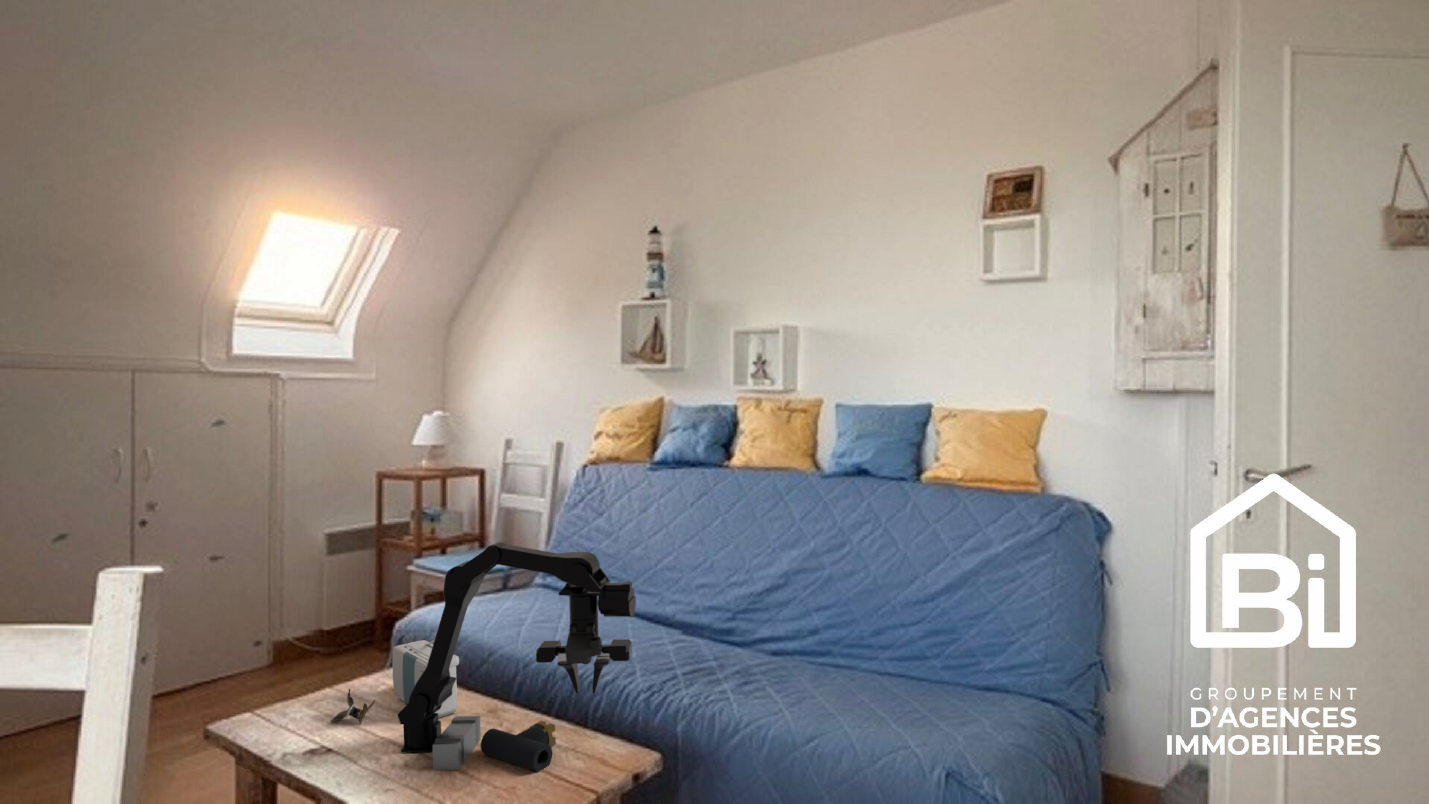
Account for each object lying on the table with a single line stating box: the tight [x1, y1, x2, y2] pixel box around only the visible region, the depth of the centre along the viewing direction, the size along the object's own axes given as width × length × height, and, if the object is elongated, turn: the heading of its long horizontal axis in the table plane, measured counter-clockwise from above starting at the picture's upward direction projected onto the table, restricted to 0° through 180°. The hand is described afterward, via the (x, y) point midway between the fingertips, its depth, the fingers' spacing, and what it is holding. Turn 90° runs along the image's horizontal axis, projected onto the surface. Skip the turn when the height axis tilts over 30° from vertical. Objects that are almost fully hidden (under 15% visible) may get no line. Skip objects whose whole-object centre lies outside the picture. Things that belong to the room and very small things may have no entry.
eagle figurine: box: [330, 688, 376, 725], centre depth 182 cm, size 8×7×9 cm
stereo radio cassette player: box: [391, 638, 460, 719], centre depth 190 cm, size 21×8×20 cm, turn 43°
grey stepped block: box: [432, 715, 482, 771], centre depth 164 cm, size 5×14×5 cm, turn 179°
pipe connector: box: [480, 720, 557, 773], centre depth 163 cm, size 12×5×15 cm
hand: (585, 692), depth 163 cm, fingers open, 3 cm apart
